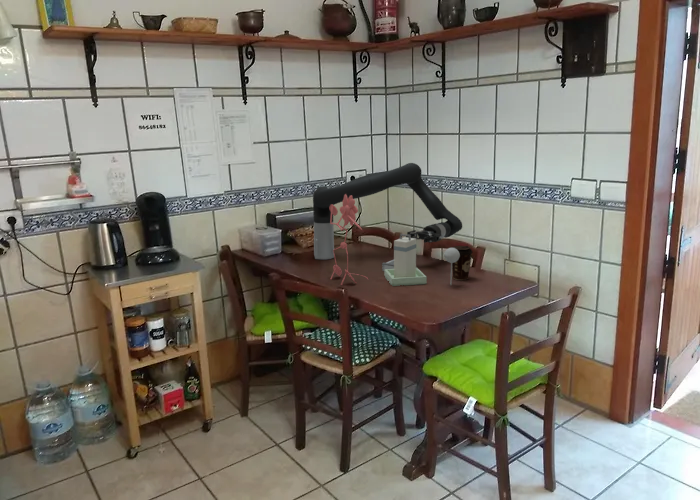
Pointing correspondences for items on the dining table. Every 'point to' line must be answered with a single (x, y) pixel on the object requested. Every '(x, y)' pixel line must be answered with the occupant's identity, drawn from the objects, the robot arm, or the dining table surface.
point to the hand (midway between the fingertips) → (415, 238)
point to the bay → (388, 265)
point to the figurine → (348, 216)
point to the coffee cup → (462, 263)
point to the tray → (405, 278)
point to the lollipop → (451, 257)
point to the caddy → (405, 257)
